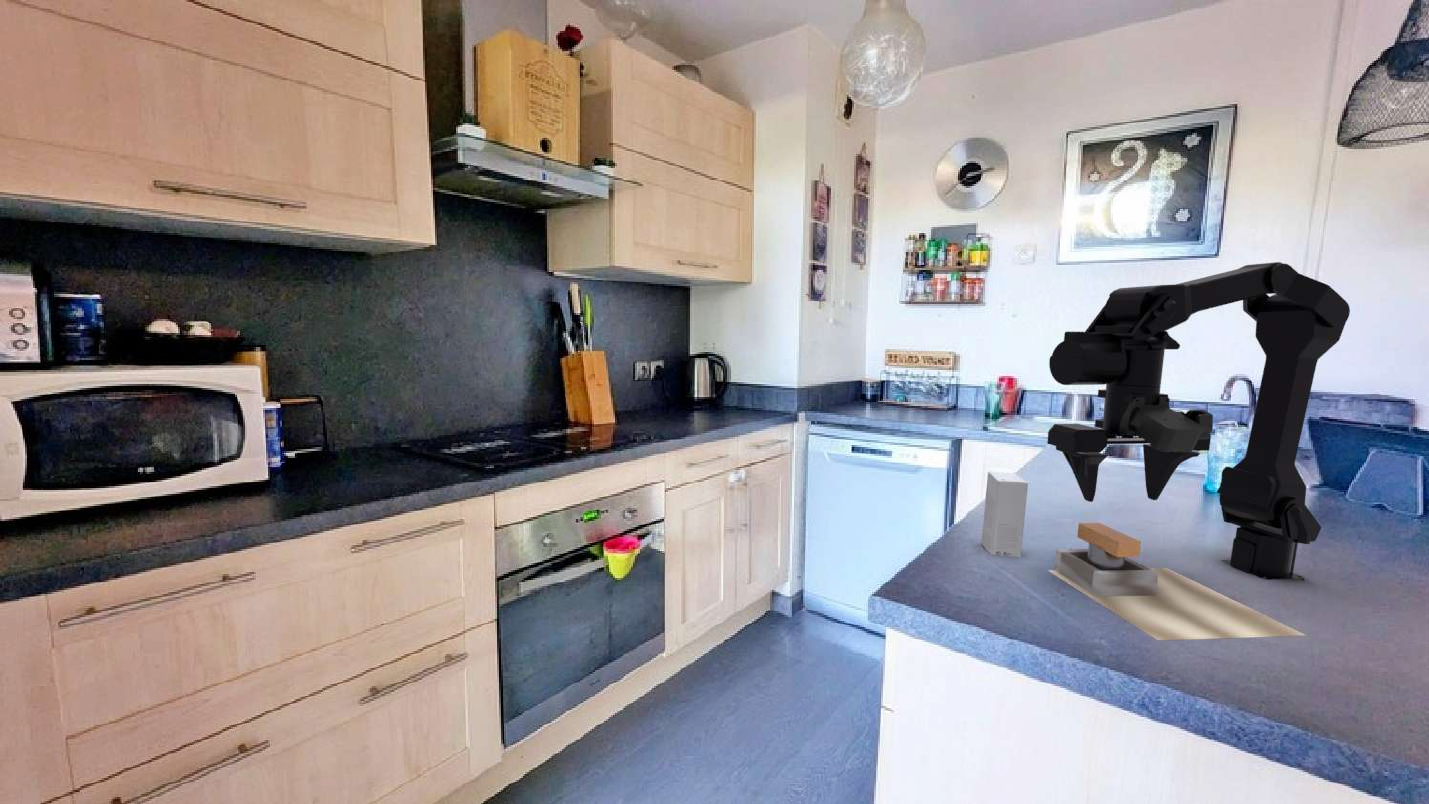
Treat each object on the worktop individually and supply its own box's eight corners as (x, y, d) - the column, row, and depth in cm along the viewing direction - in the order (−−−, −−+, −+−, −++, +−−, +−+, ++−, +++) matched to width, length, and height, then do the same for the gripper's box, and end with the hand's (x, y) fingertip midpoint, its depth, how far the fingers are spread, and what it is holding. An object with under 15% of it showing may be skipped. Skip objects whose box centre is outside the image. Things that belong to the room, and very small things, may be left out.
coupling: (1070, 571, 79) (1075, 523, 78) (1097, 570, 80) (1102, 522, 79) (1109, 594, 72) (1115, 542, 72) (1138, 593, 73) (1144, 541, 72)
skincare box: (1021, 561, 84) (1029, 482, 82) (990, 558, 85) (997, 480, 83) (1009, 546, 90) (1016, 472, 88) (980, 543, 91) (986, 470, 89)
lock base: (1165, 571, 81) (1168, 547, 81) (1305, 640, 64) (1310, 610, 63) (1047, 574, 80) (1049, 549, 79) (1157, 645, 62) (1161, 614, 61)
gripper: (1115, 391, 65) (1102, 522, 67) (1262, 391, 67) (1245, 518, 69) (1049, 382, 76) (1040, 495, 78) (1177, 381, 78) (1164, 492, 80)
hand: (1120, 500), depth 76 cm, fingers open, 9 cm apart
